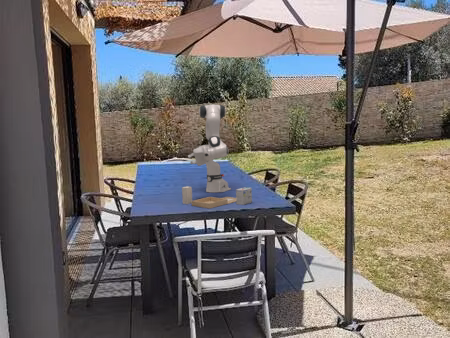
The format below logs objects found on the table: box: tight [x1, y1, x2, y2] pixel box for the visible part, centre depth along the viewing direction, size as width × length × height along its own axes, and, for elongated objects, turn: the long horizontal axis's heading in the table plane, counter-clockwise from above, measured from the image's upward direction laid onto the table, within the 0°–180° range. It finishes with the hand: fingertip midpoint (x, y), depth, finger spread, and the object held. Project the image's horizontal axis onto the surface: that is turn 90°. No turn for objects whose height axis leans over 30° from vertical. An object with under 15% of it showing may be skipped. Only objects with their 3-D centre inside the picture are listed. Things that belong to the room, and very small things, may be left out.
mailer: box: [191, 196, 236, 210], centre depth 329 cm, size 37×18×4 cm, turn 137°
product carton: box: [181, 185, 193, 205], centre depth 330 cm, size 5×5×12 cm
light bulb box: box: [235, 186, 253, 206], centre depth 323 cm, size 11×7×11 cm, turn 141°
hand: (189, 159), depth 338 cm, fingers open, 8 cm apart
